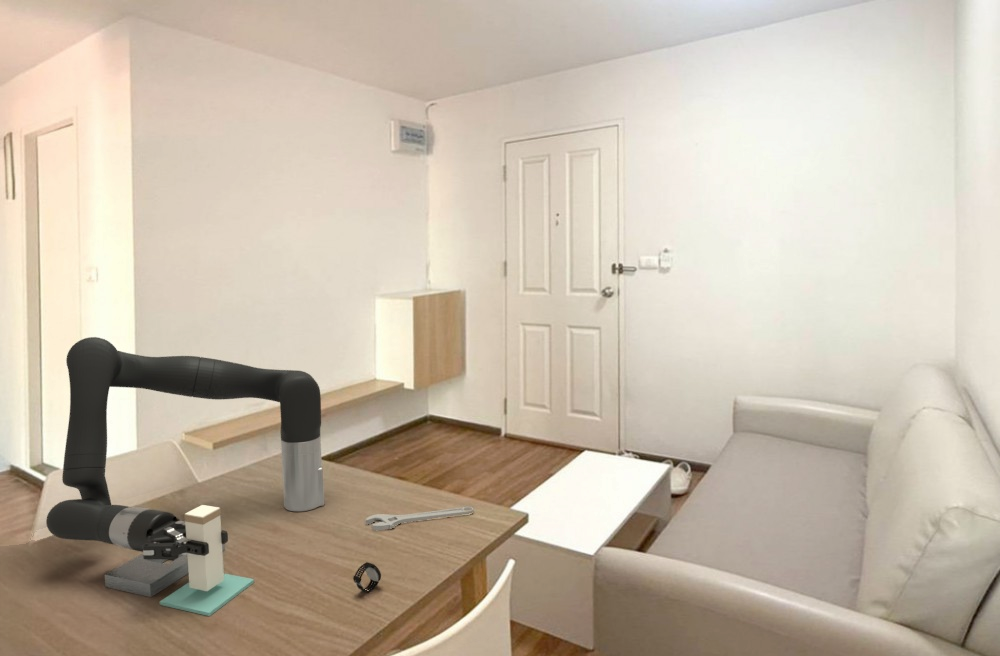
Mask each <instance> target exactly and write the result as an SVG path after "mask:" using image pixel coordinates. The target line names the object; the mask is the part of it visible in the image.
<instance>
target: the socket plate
mask: <svg viewBox="0 0 1000 656" xmlns="http://www.w3.org/2000/svg"><path fill="white" fill-rule="evenodd" d="M225 544H226V543H225ZM225 544H222V553H223V552H225V551H226V545H225ZM165 552H166V553H171V552H170V551H167V550H165ZM166 561H169V559H143V553H141V554H139V555H138V556H136V557H133V558H132V559H130V560H128V561H127V562H125V563H123V564H120V565H119V566H117V567H115V568H114V569H112V570H110V571H108V572H107V573H105V574H104V583H105V588H109V589H112V590H116V591H117V590H118V591H122V592H126V593H130V594H134V595H135V594H136V595H138V596H144V597H147V598H152V597H154V596H156V595H157V594H159V593H160V592H162V591H163V590H165V589H167V588H168V587H169V586H171V585H173V584H174V583H176V582H178V581H179V580H181V579H182V578H183V577H185V576H187V575H189V571H188V556H187V555H183V554H180V555H179V557H178V558H177V559H173V561H171V562H168V563H167V564H166ZM164 562H165V563H164Z"/></svg>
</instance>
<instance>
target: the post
mask: <svg viewBox="0 0 1000 656" xmlns="http://www.w3.org/2000/svg"><path fill="white" fill-rule="evenodd" d="M221 515H222V513H221V507H218V506H211V505H205V504H200V506H197V507H195V508H193V509H192V510H189V511H188V512H186V513H184V515H183V517H184V521H185V525H186V538H187V539H189V541H190V540H195V541H201V542H207V543H208V545H209V553H208V554H207V555H205V556H202V555H196V554H190V553H189V554H187V556H188V571H189V573H188V583H189V586H190V588H194V589H199V590H203V591H209V590H210V589H211V588H213V587H214V586H216V585H217V584H219V583H220V582H222V581H223V580H224V557H223V556H224V553H223V552H222V542H221V530H222V523H221Z"/></svg>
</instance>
